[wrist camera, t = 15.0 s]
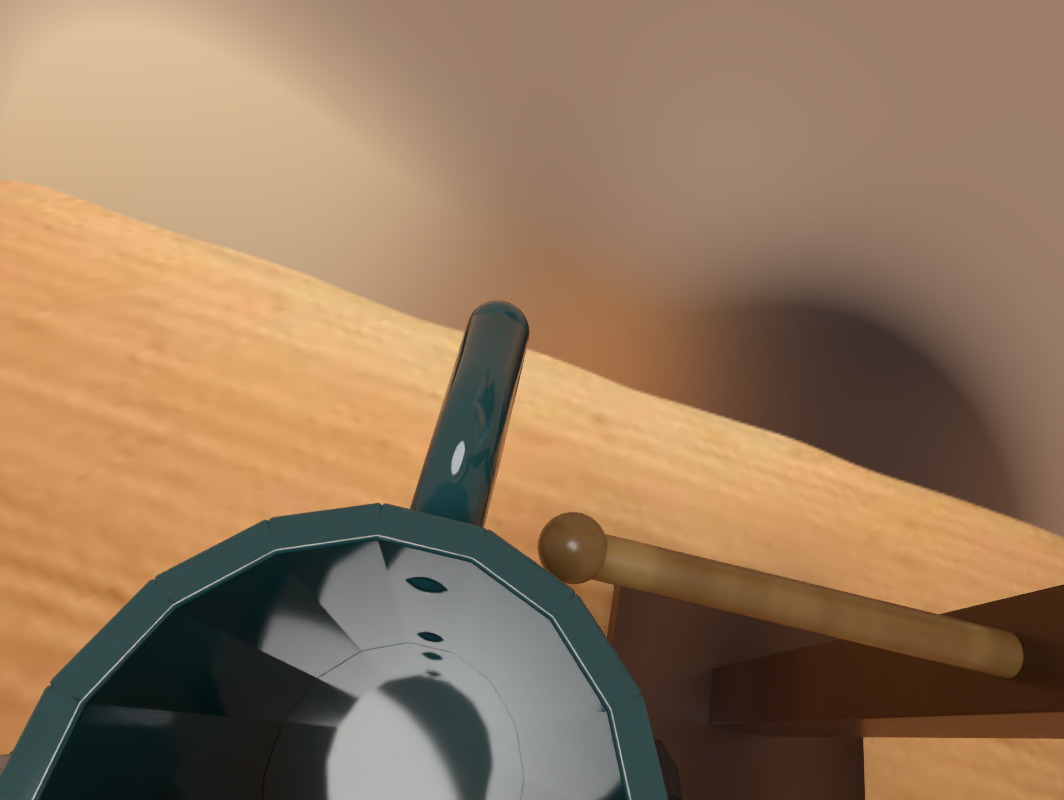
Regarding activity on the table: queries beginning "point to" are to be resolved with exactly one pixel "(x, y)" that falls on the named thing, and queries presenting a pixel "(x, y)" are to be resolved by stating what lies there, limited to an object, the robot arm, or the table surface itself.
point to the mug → (356, 653)
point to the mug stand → (806, 666)
